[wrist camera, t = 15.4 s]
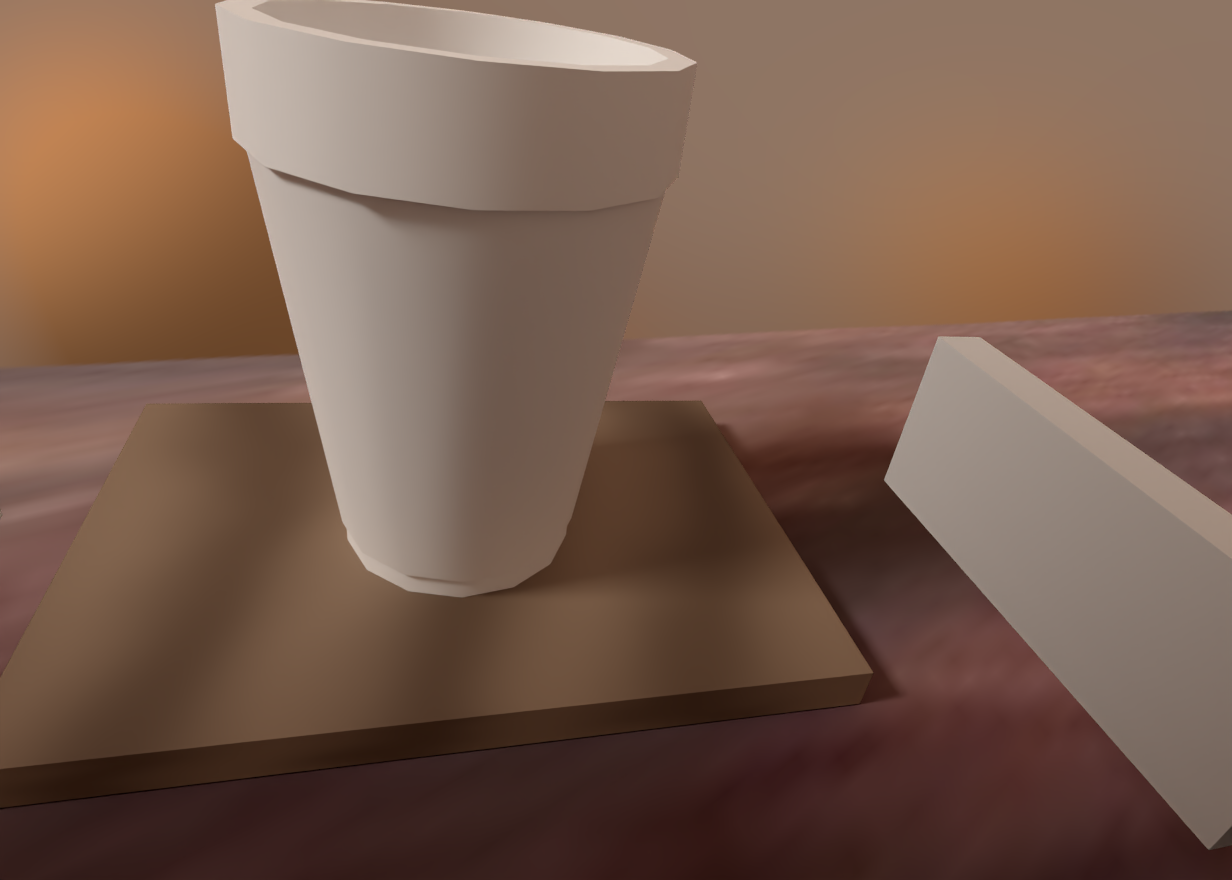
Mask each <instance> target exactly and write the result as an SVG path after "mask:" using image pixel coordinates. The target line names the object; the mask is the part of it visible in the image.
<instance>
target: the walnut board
mask: <svg viewBox="0 0 1232 880" xmlns="http://www.w3.org/2000/svg"><path fill="white" fill-rule="evenodd" d="M872 675H873V671H872V670H871V668H870V667H869V665H868V663H867V662H866V660H865V659H864V657H863V656H862V654H861V652H860V651H859V649H858V648H857V646H856V645H855V643H854V641H853V640H852V638H851V637H850V635H849V633H848V632H847V630H846V629H845V627H844V626H843V624H842V622H841V621H840V619H839V618H838V616H837V614H836V613H835V611H834V610H833V608H832V607H831V605H830V603H829V602H828V600H827V599H826V597H825V596H824V594H823V592H822V591H821V589H820V588H819V586H818V584H817V583H816V581H815V580H814V578H813V577H812V575H811V573H810V572H809V570H808V569H807V567H806V565H805V564H804V562H803V561H802V559H801V558H800V556H799V554H798V553H797V551H796V550H795V548H794V546H793V545H792V543H791V542H790V540H789V539H788V537H787V535H786V534H785V532H784V531H783V529H782V528H781V526H780V524H779V523H778V521H777V520H776V518H775V516H774V515H773V513H772V512H771V510H770V509H769V507H768V505H767V504H766V502H765V501H764V499H763V497H762V496H761V494H760V493H759V491H758V490H757V488H756V486H755V485H754V483H753V482H752V480H751V479H750V477H749V475H748V474H747V472H746V471H745V469H744V467H743V466H742V464H741V463H740V461H739V460H738V458H737V456H736V455H735V453H734V452H733V450H732V448H731V447H730V445H729V444H728V442H727V441H726V439H725V437H724V436H723V434H722V433H721V431H720V430H719V428H718V426H717V425H716V423H715V422H714V420H713V418H712V417H711V415H710V414H709V412H708V411H707V409H706V407H705V406H704V404H703V403H702V401H605V403H604V406H603V410H602V413H601V417H600V420H599V424H598V427H597V431H596V434H595V438H594V441H593V444H592V448H591V451H590V455H589V458H588V462H587V465H586V469H585V472H584V476H583V479H582V483H581V486H580V490H579V493H578V497H577V500H576V504H575V507H574V511H573V514H572V517H571V520H570V521H569V523H568V525H567V530H566V536H565V537H564V539H563V541H562V543H561V545H560V547H559V549H558V551H557V553H556V555H555V556H554V558H553V560H552V562H551V564H550V565H548V566H547V567H545V568H543V569H542V570H540V571H539V572H537V573H535V574H534V575H532V576H531V577H529V578H528V579H526V580H524V581H523V582H521V583H520V584H518V585H516V586H515V587H513V588H508V589H503V590H498V591H493V592H488V593H483V594H478V595H472V596H467V597H462V598H461V597H453V596H444V595H436V594H427V593H419V592H410V591H407V590H405V589H403V588H401V587H399V586H397V585H395V584H393V583H391V582H389V581H387V580H386V579H384V578H382V577H380V576H378V575H376V574H374V573H372V572H370V571H368V570H367V569H366V568H365V566H364V565H363V563H362V561H361V560H360V558H359V557H358V555H357V554H356V552H355V550H354V549H353V547H352V546H351V544H350V543H349V541H348V539H347V528H346V527H345V525H344V524H343V522H342V518H341V515H340V511H339V507H338V503H337V499H336V495H335V491H334V487H333V484H332V480H331V476H330V472H329V468H328V464H327V460H326V456H325V453H324V449H323V445H322V441H321V437H320V433H319V429H318V425H317V421H316V418H315V414H314V410H313V406H312V403H202V404H146V406H145V408H144V410H143V412H142V413H141V415H140V417H139V419H138V421H137V423H136V425H135V427H134V428H133V430H132V432H131V434H130V436H129V438H128V440H127V442H126V443H125V445H124V447H123V449H122V451H121V453H120V455H119V456H118V458H117V460H116V462H115V464H114V466H113V468H112V470H111V471H110V473H109V475H108V477H107V479H106V481H105V483H104V485H103V486H102V488H101V490H100V492H99V494H98V496H97V498H96V500H95V501H94V503H93V505H92V507H91V509H90V511H89V513H88V514H87V516H86V518H85V520H84V522H83V524H82V526H81V528H80V529H79V531H78V533H77V535H76V537H75V539H74V541H73V543H72V544H71V546H70V548H69V550H68V552H67V554H66V556H65V557H64V559H63V561H62V563H61V565H60V567H59V569H58V571H57V572H56V574H55V576H54V578H53V580H52V582H51V584H50V586H49V587H48V589H47V591H46V593H45V595H44V597H43V599H42V601H41V602H40V604H39V606H38V608H37V610H36V612H35V614H34V615H33V617H32V619H31V621H30V623H29V625H28V627H27V629H26V630H25V632H24V634H23V636H22V638H21V640H20V642H19V644H18V645H17V647H16V649H15V651H14V653H13V655H12V657H11V658H10V660H9V662H8V664H7V666H6V668H5V670H4V672H3V673H2V675H1V677H0V808H3V807H11V806H19V805H28V804H36V803H44V802H52V801H61V800H69V799H77V798H85V797H94V796H102V795H110V794H118V793H127V792H135V791H143V790H151V789H160V788H168V787H176V786H184V785H193V784H201V783H209V782H217V781H226V780H234V779H242V778H250V777H259V776H267V775H275V774H283V773H292V772H300V771H308V770H316V769H325V768H333V767H341V766H349V765H358V764H366V763H374V762H382V761H390V760H399V759H407V758H415V757H423V756H432V755H440V754H448V753H456V752H465V751H473V750H481V749H489V748H498V747H506V746H514V745H522V744H531V743H539V742H547V741H555V740H564V739H572V738H580V737H588V736H597V735H605V734H613V733H621V732H630V731H638V730H646V729H654V728H663V727H671V726H679V725H687V724H696V723H704V722H712V721H720V720H729V719H737V718H745V717H753V716H762V715H770V714H778V713H786V712H795V711H803V710H811V709H819V708H828V707H836V706H844V705H852V704H860V702H861V700H862V698H863V695H864V693H865V691H866V689H867V686H868V684H869V682H870V680H871V677H872Z"/></svg>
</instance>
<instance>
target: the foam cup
mask: <svg viewBox="0 0 1232 880" xmlns="http://www.w3.org/2000/svg"><path fill="white" fill-rule="evenodd" d="M215 8H216V16H217V23H218V30H219V38H220V46H221V53H222V61H223V69H224V76H225V84H226V91H227V99H228V106H229V114H230V122H231V129H232V137H233V139H234V140H235V141H236V142H237V143H238V144H240V145H241V146H242V147H243V148H244V149H245V150H246V151H247V154H248V158H249V161H250V165H251V169H252V173H253V177H254V181H255V185H256V188H257V193H258V196H259V200H260V204H261V208H262V212H263V216H264V220H265V224H266V227H267V231H268V235H269V239H270V243H271V247H272V250H273V255H274V258H275V262H276V266H277V270H278V274H279V278H280V282H281V286H282V290H283V293H284V297H285V301H286V305H287V309H288V313H289V316H290V321H291V324H292V328H293V332H294V336H295V340H296V344H297V348H298V351H299V356H300V359H301V363H302V367H303V371H304V375H305V379H306V383H307V387H308V390H309V394H310V398H311V402H312V406H313V410H314V414H315V418H316V421H317V425H318V429H319V433H320V437H321V441H322V445H323V449H324V453H325V456H326V460H327V464H328V468H329V472H330V476H331V480H332V484H333V487H334V491H335V495H336V499H337V503H338V507H339V511H340V515H341V518H342V522H343V524H344V525H345V527H346V528H347V539H348V541H349V543H350V544H351V546H352V547H353V549H354V550H355V552H356V554H357V555H358V557H359V558H360V560H361V561H362V563H363V565H364V566H365V568H366V569H367V570H368V571H370V572H372V573H374V574H376V575H378V576H380V577H382V578H384V579H386V580H387V581H389V582H391V583H393V584H395V585H397V586H399V587H401V588H403V589H405V590H407V591H410V592H419V593H427V594H436V595H444V596H453V597H461V598H462V597H467V596H472V595H478V594H483V593H488V592H493V591H498V590H503V589H508V588H513V587H515V586H516V585H518V584H520V583H521V582H523V581H524V580H526V579H528V578H529V577H531V576H532V575H534V574H535V573H537V572H539V571H540V570H542V569H543V568H545V567H547V566H548V565H550V564H551V562H552V560H553V558H554V556H555V555H556V553H557V551H558V549H559V547H560V545H561V543H562V541H563V539H564V537H565V536H566V530H567V525H568V523H569V521H570V520H571V517H572V514H573V511H574V507H575V504H576V500H577V497H578V493H579V490H580V486H581V483H582V479H583V476H584V472H585V469H586V465H587V462H588V458H589V455H590V451H591V448H592V444H593V441H594V438H595V434H596V431H597V427H598V424H599V420H600V417H601V413H602V410H603V406H604V403H605V399H606V396H607V392H608V389H609V385H610V382H611V378H612V375H613V371H614V368H615V365H616V361H617V358H618V354H619V351H620V347H621V344H622V340H623V337H624V333H625V330H626V326H627V323H628V319H629V316H630V312H631V309H632V305H633V302H634V298H635V295H636V292H637V288H638V284H639V281H640V278H641V274H642V271H643V267H644V263H645V260H646V257H647V253H648V250H649V246H650V243H651V239H652V236H653V232H654V229H655V225H656V222H657V218H658V215H659V212H660V208H661V205H662V201H663V198H664V194H665V191H666V189H667V188H668V187H669V186H670V185H671V184H672V183H673V182H674V181H675V180H676V179H677V178H678V176H679V171H680V165H681V158H682V152H683V146H684V140H685V134H686V127H687V122H688V116H689V110H690V104H691V98H692V92H693V86H694V80H695V74H696V67H697V62H695V61H693V60H691V59H689V58H687V57H685V56H683V55H681V54H679V53H677V52H675V51H673V50H670V49H666V48H662V47H659V46H655V45H651V44H647V43H643V42H639V41H635V40H631V39H628V38H624V37H620V36H615V35H609V34H604V33H599V32H594V31H588V30H583V29H578V28H572V27H567V26H561V25H556V24H551V23H544V22H538V21H532V20H524V19H518V18H510V17H504V16H497V15H491V14H483V13H477V12H470V11H462V10H453V9H444V8H435V7H426V6H417V5H408V4H399V3H389V2H381V1H366V0H226V1H223V2H220V3H217V4H215Z"/></svg>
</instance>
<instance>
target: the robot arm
mask: <svg viewBox="0 0 1232 880" xmlns="http://www.w3.org/2000/svg"><path fill="white" fill-rule="evenodd" d="M884 481H885V482H886V483H887V484H888V486H889V487H890V488H891V489H892V490H893V491H894V492H895V493H896V495H897V496H898V497H899V498H900V499H901V500H902V501H903V503H904V504H905V505H906V506H907V507H908V508H909V509H910V511H911V512H912V513H913V514H914V515H915V516H916V517H917V519H918V520H919V521H920V522H921V523H922V524H923V525H924V527H925V528H926V529H927V530H928V531H929V532H930V533H931V534H932V536H933V537H934V538H935V539H936V540H937V541H938V542H939V544H940V545H941V546H942V547H943V548H944V549H945V550H946V552H947V553H948V554H949V555H950V556H951V557H952V558H953V560H954V561H955V562H956V563H957V564H958V565H959V566H960V568H961V569H962V570H963V571H964V572H965V573H966V574H967V575H968V577H969V578H970V579H971V580H972V581H973V582H974V583H975V585H976V586H977V587H978V588H979V589H980V590H981V591H982V593H983V594H984V595H985V596H986V597H987V598H988V599H989V601H990V602H991V603H992V604H993V605H994V606H995V607H996V609H997V610H998V611H999V612H1000V613H1001V614H1002V615H1003V616H1004V618H1005V619H1006V620H1007V621H1008V622H1009V623H1010V624H1011V626H1012V627H1013V628H1014V629H1015V630H1016V631H1017V632H1018V634H1019V635H1020V636H1021V637H1022V638H1023V639H1024V640H1025V642H1026V643H1027V644H1028V645H1029V646H1030V647H1031V648H1032V650H1033V651H1034V652H1035V653H1036V654H1037V655H1038V656H1039V657H1040V659H1041V660H1042V661H1043V662H1044V663H1045V664H1046V665H1047V667H1048V668H1049V669H1050V670H1051V671H1052V672H1053V673H1054V675H1055V676H1056V677H1057V678H1058V679H1059V680H1060V681H1061V683H1062V684H1063V685H1064V686H1065V687H1066V688H1067V689H1068V691H1069V692H1070V693H1071V694H1072V695H1073V696H1074V697H1075V698H1076V700H1077V701H1078V702H1079V703H1080V704H1081V705H1082V706H1083V708H1084V709H1085V710H1086V711H1087V712H1088V713H1089V714H1090V716H1091V717H1092V718H1093V719H1094V720H1095V721H1096V722H1097V724H1098V725H1099V726H1100V727H1101V728H1102V729H1103V730H1104V732H1105V733H1106V734H1107V735H1108V736H1109V737H1110V738H1111V739H1112V741H1113V742H1114V743H1115V744H1116V745H1117V746H1118V747H1119V749H1120V750H1121V751H1122V752H1123V753H1124V754H1125V755H1126V757H1127V758H1128V759H1129V760H1130V761H1131V762H1132V763H1133V765H1134V766H1135V767H1136V768H1137V769H1138V770H1139V771H1140V773H1141V774H1142V775H1143V776H1144V777H1145V778H1146V779H1147V780H1148V782H1149V783H1150V784H1151V785H1152V786H1153V787H1154V788H1155V790H1156V791H1157V792H1158V793H1159V794H1160V795H1161V796H1162V798H1163V799H1164V800H1165V801H1166V802H1167V803H1168V804H1169V806H1170V807H1171V808H1172V809H1173V810H1174V811H1175V812H1176V814H1177V815H1178V816H1179V817H1180V818H1181V819H1182V820H1183V821H1184V823H1185V824H1186V825H1187V826H1188V827H1189V828H1190V829H1191V831H1192V832H1193V833H1194V834H1195V835H1196V836H1197V837H1198V839H1199V840H1200V841H1201V842H1202V843H1203V844H1204V845H1205V847H1206V848H1207V849H1208V850H1212V849H1217V848H1221V847H1226V846H1231V845H1232V515H1231V514H1230V513H1228V512H1227V511H1226V510H1224V509H1223V508H1221V507H1220V506H1218V505H1217V504H1216V503H1214V502H1213V501H1211V500H1210V499H1208V498H1207V497H1206V496H1204V495H1203V494H1201V493H1200V492H1199V491H1197V490H1196V489H1194V488H1193V487H1191V486H1190V485H1189V484H1187V483H1186V482H1184V481H1183V480H1182V479H1180V478H1179V477H1177V476H1176V475H1174V474H1173V473H1172V472H1170V471H1169V470H1167V469H1166V468H1165V467H1163V466H1162V465H1160V464H1159V463H1157V462H1156V461H1155V460H1153V459H1152V458H1150V457H1149V456H1148V455H1146V454H1145V453H1143V452H1142V451H1140V450H1139V449H1138V448H1136V447H1135V446H1133V445H1132V444H1131V443H1129V442H1128V441H1126V440H1125V439H1123V438H1122V437H1121V436H1119V435H1118V434H1116V433H1115V432H1114V431H1112V430H1111V429H1109V428H1108V427H1106V426H1105V425H1104V424H1102V423H1101V422H1099V421H1098V420H1097V419H1095V418H1094V417H1092V416H1091V415H1089V414H1088V413H1087V412H1085V411H1084V410H1082V409H1081V408H1079V407H1078V406H1077V405H1075V404H1074V403H1072V402H1071V401H1070V400H1068V399H1067V398H1065V397H1064V396H1062V395H1061V394H1060V393H1058V392H1057V391H1055V390H1054V389H1053V388H1051V387H1050V386H1048V385H1047V384H1045V383H1044V382H1043V381H1041V380H1040V379H1038V378H1037V377H1036V376H1034V375H1033V374H1031V373H1030V372H1028V371H1027V370H1026V369H1024V368H1023V367H1021V366H1020V365H1019V364H1017V363H1016V362H1014V361H1013V360H1011V359H1010V358H1009V357H1007V356H1006V355H1004V354H1003V353H1002V352H1000V351H999V350H997V349H996V348H994V347H993V346H992V345H990V344H989V343H987V342H986V341H985V340H983V339H982V338H980V337H938V339H937V342H936V345H935V347H934V350H933V352H932V355H931V358H930V360H929V363H928V366H927V368H926V371H925V373H924V376H923V379H922V381H921V384H920V387H919V389H918V392H917V395H916V397H915V400H914V402H913V405H912V408H911V410H910V413H909V416H908V418H907V421H906V423H905V426H904V429H903V431H902V434H901V437H900V439H899V442H898V444H897V447H896V450H895V452H894V455H893V458H892V460H891V463H890V466H889V468H888V471H887V473H886V476H885V479H884ZM1 517H2V512H1V509H0V518H1Z"/></svg>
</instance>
